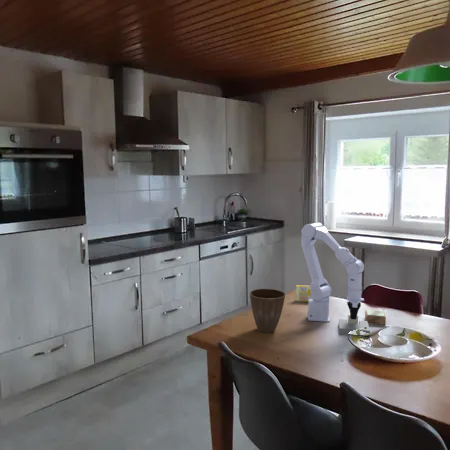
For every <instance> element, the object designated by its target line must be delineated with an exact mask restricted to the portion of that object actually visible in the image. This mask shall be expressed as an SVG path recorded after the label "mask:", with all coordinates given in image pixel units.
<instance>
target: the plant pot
mask: <svg viewBox="0 0 450 450" xmlns="http://www.w3.org/2000/svg"><path fill="white" fill-rule="evenodd" d="M249 297H250V306H251V311H252V315H253V319H254V323H255V325H256V328H257V330H258V331H259V332H261V333H267V334H269V333H274V332H275V331H276V329H277V326H278V324H279V321H280V319H281V315H282V313H283V309H284V304H285V298H286V293H285V292H284V291H282V290H279V289H275V288H257V289H253V290H250V291H249Z"/></svg>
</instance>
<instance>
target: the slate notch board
mask: <svg viewBox="0 0 450 450" xmlns="http://www.w3.org/2000/svg"><path fill="white" fill-rule="evenodd" d="M369 325H370V324H368V321H366V320H358V324H348V319H344V318H342V319H341V318H339V319H338V330H339V331H338V333H339V335H347V334H348V333H349V332H350V331H353V330H356V329H359V328H364V327H369V328H367V329H361V330H360V331H363V332H366V333H369V334H370V333H371V329H370V326H369ZM347 336H348V335H347Z"/></svg>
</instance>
